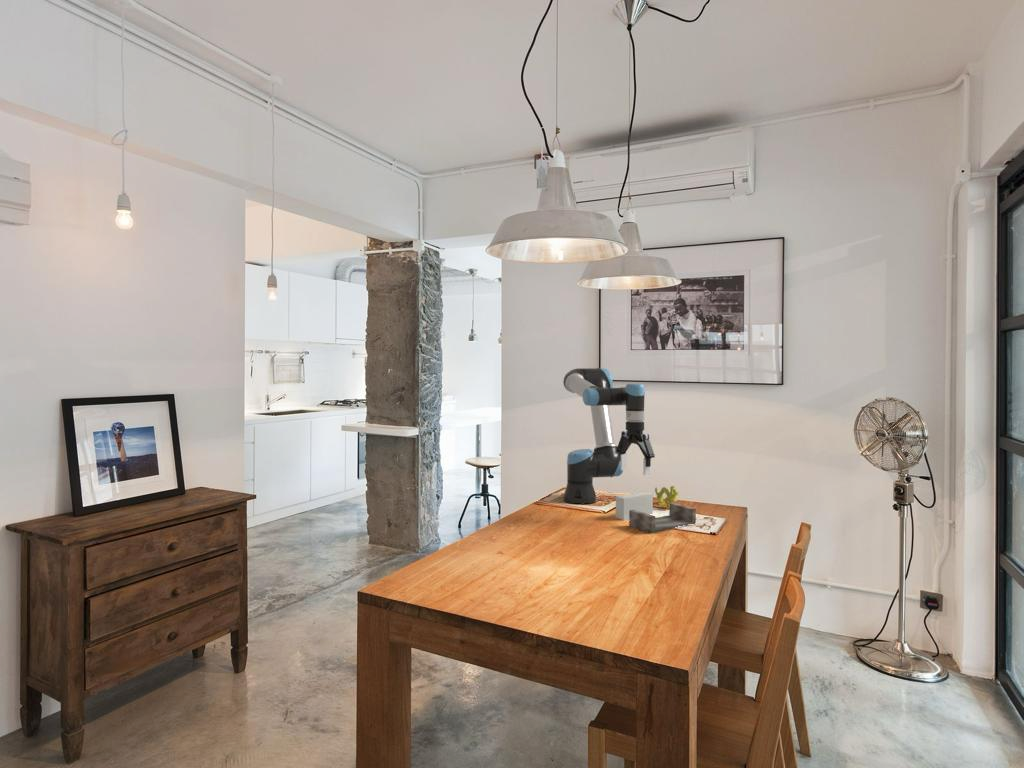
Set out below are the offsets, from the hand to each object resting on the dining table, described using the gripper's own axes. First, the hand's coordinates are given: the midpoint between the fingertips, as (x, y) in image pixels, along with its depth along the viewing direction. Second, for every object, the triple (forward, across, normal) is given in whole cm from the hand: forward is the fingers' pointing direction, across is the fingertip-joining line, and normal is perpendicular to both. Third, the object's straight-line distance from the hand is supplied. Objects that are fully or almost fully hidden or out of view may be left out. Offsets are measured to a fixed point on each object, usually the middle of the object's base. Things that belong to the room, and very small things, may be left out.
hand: (634, 472), depth 248 cm
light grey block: (+19, 0, 0) cm, 19 cm away
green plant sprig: (+19, -6, +24) cm, 31 cm away
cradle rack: (+19, +16, 0) cm, 24 cm away
